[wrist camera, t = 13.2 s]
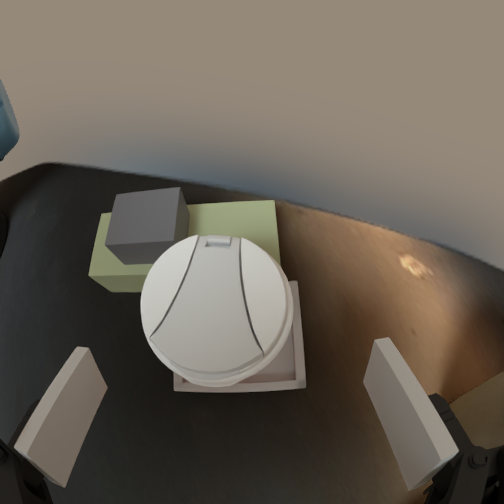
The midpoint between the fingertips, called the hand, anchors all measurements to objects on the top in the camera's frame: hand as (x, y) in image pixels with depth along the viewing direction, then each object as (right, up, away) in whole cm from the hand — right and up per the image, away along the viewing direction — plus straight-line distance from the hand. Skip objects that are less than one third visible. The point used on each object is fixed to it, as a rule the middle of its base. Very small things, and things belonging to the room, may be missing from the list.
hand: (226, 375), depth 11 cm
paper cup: (-1, -3, +14) cm, 14 cm away
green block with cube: (-4, 0, +16) cm, 16 cm away
